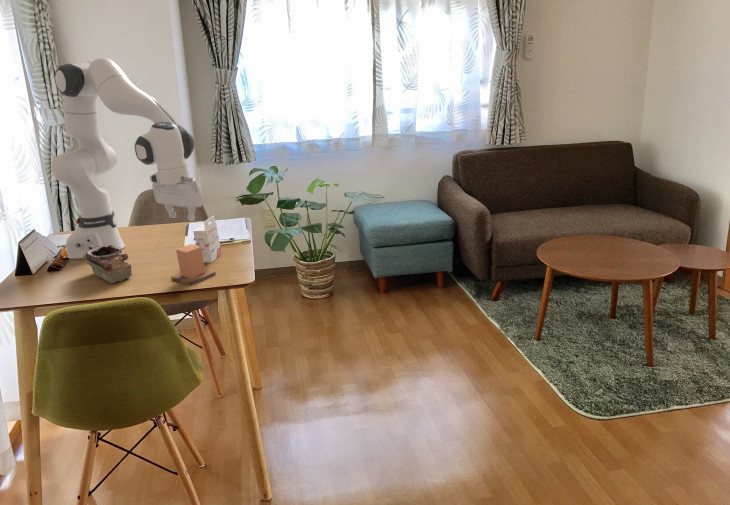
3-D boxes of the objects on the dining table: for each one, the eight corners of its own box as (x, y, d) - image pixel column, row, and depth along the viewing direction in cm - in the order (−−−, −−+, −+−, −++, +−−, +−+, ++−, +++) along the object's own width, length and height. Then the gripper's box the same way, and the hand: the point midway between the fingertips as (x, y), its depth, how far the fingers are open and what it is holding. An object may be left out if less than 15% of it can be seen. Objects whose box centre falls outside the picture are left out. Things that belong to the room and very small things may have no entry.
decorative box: (94, 291, 199) (87, 262, 196) (76, 275, 214) (70, 249, 211) (135, 279, 207) (129, 251, 203) (115, 264, 222) (109, 239, 218)
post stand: (171, 279, 203) (167, 256, 201) (197, 269, 211) (193, 246, 208) (190, 285, 197) (185, 261, 195) (215, 274, 204) (211, 251, 202)
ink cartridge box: (209, 254, 225) (202, 214, 220) (221, 254, 223) (215, 214, 218) (198, 262, 217) (191, 222, 212) (211, 262, 216) (204, 222, 211)
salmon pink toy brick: (181, 275, 203) (176, 249, 200) (195, 269, 207) (190, 244, 204) (191, 278, 200) (186, 252, 197) (205, 272, 204) (200, 246, 201)
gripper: (203, 175, 188) (211, 219, 193) (163, 172, 201) (171, 213, 205) (186, 180, 184) (194, 225, 188) (146, 176, 196) (155, 218, 201)
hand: (182, 219), depth 197 cm, fingers open, 8 cm apart
